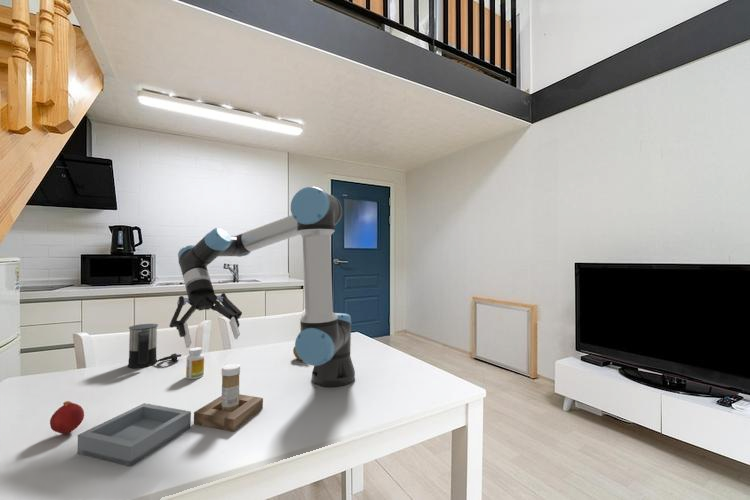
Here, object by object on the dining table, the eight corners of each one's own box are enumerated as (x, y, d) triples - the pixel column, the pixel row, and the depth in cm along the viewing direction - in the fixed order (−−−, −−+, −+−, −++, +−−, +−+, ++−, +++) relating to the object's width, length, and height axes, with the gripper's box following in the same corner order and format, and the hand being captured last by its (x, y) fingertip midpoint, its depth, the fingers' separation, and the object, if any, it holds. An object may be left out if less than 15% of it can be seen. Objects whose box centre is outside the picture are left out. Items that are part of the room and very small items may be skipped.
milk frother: (123, 364, 120) (124, 326, 121) (169, 354, 133) (170, 319, 134) (138, 373, 112) (139, 332, 112) (185, 361, 125) (186, 324, 125)
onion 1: (65, 427, 78) (66, 395, 78) (90, 426, 78) (90, 394, 78) (42, 441, 72) (43, 406, 72) (69, 440, 72) (70, 406, 73)
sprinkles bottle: (239, 410, 88) (240, 362, 88) (238, 418, 83) (239, 368, 84) (221, 413, 86) (222, 364, 86) (219, 421, 82) (220, 370, 82)
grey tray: (190, 427, 79) (190, 411, 79) (130, 466, 64) (131, 446, 64) (143, 418, 83) (144, 403, 83) (77, 453, 68) (77, 434, 68)
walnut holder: (262, 408, 89) (262, 397, 89) (233, 431, 78) (233, 419, 78) (226, 402, 92) (227, 392, 92) (193, 424, 81) (194, 412, 81)
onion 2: (311, 355, 136) (312, 336, 136) (311, 361, 128) (311, 342, 128) (293, 356, 134) (294, 337, 134) (292, 362, 126) (292, 342, 127)
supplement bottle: (207, 373, 113) (207, 346, 113) (197, 379, 108) (197, 351, 108) (193, 373, 114) (193, 346, 114) (182, 379, 108) (183, 350, 108)
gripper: (233, 290, 114) (250, 340, 104) (151, 295, 96) (162, 356, 86) (240, 276, 111) (259, 327, 101) (156, 279, 93) (168, 341, 82)
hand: (214, 340), depth 93 cm, fingers open, 13 cm apart
